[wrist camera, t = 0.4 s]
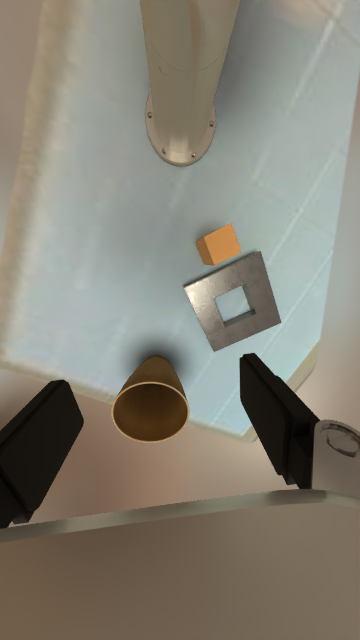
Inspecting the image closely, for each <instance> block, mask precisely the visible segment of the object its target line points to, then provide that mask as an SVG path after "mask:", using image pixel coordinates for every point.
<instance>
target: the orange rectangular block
mask: <svg viewBox="0 0 360 640" xmlns="http://www.w3.org/2000/svg"><path fill="white" fill-rule="evenodd" d="M196 245H197V248H198V250H199V253H200V255H201V258H202V260H203V263H204V264H206V265H216V264H218V263H220V262H222V261H224V260H226V259H228V258H230V257H232V256H234V255H237V254H239V253H241V251H240V248H239V245H238V242H237V238H236V235H235V232H234V229H233V226H232V223H230V224H228V225H226V226H224V227H222V228H220V229H218V230H216V231H214V232H213V233H211V234H209V235H207V236H205V237H203V238H202V239H200V240H199V241H198V242H196Z"/></svg>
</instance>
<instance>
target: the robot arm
mask: <svg viewBox="0 0 360 640" xmlns="http://www.w3.org/2000/svg"><path fill="white" fill-rule="evenodd" d="M239 3H240V0H140V5H141V13H142V20H143V28H144V37H145V45H146V54H147V62H148V71H149V79H150V88H151V92H150V94H149V97H148V100H147V104H146V112H145V118H146V128H147V132H148V136H149V139H150V142H151V144H152V146H153V148H154V149H155V151H156V152H157V154H158V155H159V156H160V157H161V158H162V159H164V160H165V161H166V162H168V163H170V164H172V165H176V166H186V165H190V164H192V163H194V162H196V161H198V160H199V159H200V158H201V157H202V156H203V155H204V154H205V153H206V151H207V150H208V148H209V146H210V144H211V141H212V139H213V135H214V132H215V126H216V111H215V105H214V99H215V95H216V91H217V87H218V84H219V80H220V76H221V72H222V69H223V65H224V61H225V57H226V54H227V50H228V46H229V42H230V39H231V35H232V31H233V27H234V24H235V20H236V16H237V12H238V8H239ZM210 126H211V127H210ZM163 153H165V154H163ZM192 157H194V158H192ZM240 399H241V402H242V405H243V407H244V409H245V411H246V413H247V415H248V417H249V419H250V421H251V423H252V425H253V427H254V429H255V431H256V433H257V435H258V437H259V439H260V441H261V443H262V445H263V447H264V449H265V451H266V452H267V455H268V457H269V459H270V461H271V463H272V465H273V467H274V469H275V471H276V472H277V474H278V475H282V476H283V478H284V480H285V482H286V484H287V485H291V484H297V486H298V487H299V489H294V490H277V491H269V492H260V493H251V494H243V495H234V496H226V497H220V498H211V499H204V500H197V501H190V502H182V503H175V504H168V505H160V506H153V507H147V508H139V509H132V510H125V511H118V512H112V513H104V514H98V515H90V516H84V517H77V518H70V519H63V520H56V521H50V522H43V523H36V524H30V525H23V526H16V527H10V528H7V527H8V526H9V524H10V523H11V521H12V522H13V523H14V524H20V523H27V522H29V520H30V518H31V517H32V515H33V513H34V511H35V510H36V509H37V508H39V506H40V505H41V503H42V501H43V499H44V497H45V496H46V494H47V492H48V490H49V488H50V486H51V484H52V482H53V481H54V479H55V477H56V475H57V473H58V471H59V470H60V468H61V466H62V464H63V462H64V460H65V458H66V456H67V455H68V453H69V451H70V449H71V447H72V445H73V444H74V442H75V440H76V438H77V436H78V434H79V432H80V430H81V428H82V427H83V423H84V419H83V417H82V414H81V412H80V409H79V407H78V405H77V402H76V400H75V397H74V395H73V392H72V390H71V387H70V385H69V383H68V382H66V381H65V380H55V381H51V382H49V383H48V384H47V385H46V386H45V387H44V388H43V389H42V390H41V391H40V392H39V393H38V394H37V395H36V396H35V397H34V398H33V399H32V400H31V401H30V402H29V403H28V404H27V405H26V406H25V407H24V408H23V409H22V410H21V411H20V412H19V413H18V414H17V415H16V416H15V417H14V418H13V419H12V420H11V421H10V422H9V423H8V424H7V425H6V426H5V427H4V428H3V429H2V430H1V431H0V640H360V432H359V431H357V430H355V429H354V428H352V427H351V426H349V425H346V424H344V423H342V422H338V421H334V420H322V421H320V420H319V419H318V417H317V416H315V415H314V414H313V412H312V411H311V410H310V409H309V408H308V407H307V406H306V405H305V404H304V403H303V402H302V400H300V398H299V397H298V396H297V395H296V394H295V393H294V392H293V391H292V390H291V389H290V388H289V387H288V386H287V385H286V384H285V382H284V381H283V380H282V379H281V378H280V377H278V376H275V375H274V374H273V372H272V371H271V370H270V369H269V368H268V367H267V366H266V365H265V364H264V363H263V362H262V361H261V359H260V358H259V357H258V356H257V355H256V354H255V353H250V354H243V357H241V358H240Z"/></svg>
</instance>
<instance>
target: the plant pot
mask: <svg viewBox="0 0 360 640" xmlns="http://www.w3.org/2000/svg"><path fill="white" fill-rule="evenodd" d="M111 415H112V420H113V422H114V424H115V426H116V427H117V429H118V430H119V431H120V432H121V433H122V434H123V435H125V436H126V437H128V438H130V439H132V440H135V441H139V442H145V443H154V442H161V441H164V440H168V439H170V438H172V437H174V436H175V435H177V434H178V433H179V432H180V431H181V430H182V429H183V428H184V427H185V425H186V424H187V421H188V418H189V405H188V402H187V399H186V396H185V393H184V390H183V387H182V385H181V382H180V380H179V378H178V376H177V374H176V372H175V371H174V369H173V368H172V366H171V365H170V363H169V362H168V361H167V360H166V359H165V358H163V357H159V356H154V357H150V358H149V359H147V360H146V361H145V362H143V363H142V364H141V365H140V366H139V367H138V368H137V369H136V370H135V371H134V372H133V374H132V375H131V376H130V377H129V379H128V380H127V382H126V383H125V384H124V386H123V388H122V389H121V391H120V392H119V394H118V395H117V397H116V399H115V400H114V403H113V405H112V410H111Z"/></svg>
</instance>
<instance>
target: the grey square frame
mask: <svg viewBox="0 0 360 640" xmlns="http://www.w3.org/2000/svg"><path fill="white" fill-rule="evenodd" d="M241 285H242V287H243V289H244V292H245V295H246V298H247V301H248V304H249V307H250V310H251V311H248V312H246V313H244V314H242V315H239V316H237V317H235V318H233V319H231V320H228V321H226V322H224V323H223V321H222V319H221V316H220V314H219V311H218V309H217V306H216V304H215V302H214V299H213V298H215V297H218V296H220V295H222V294H224V293H226V292H228V291H230V290H233V289H235V288H237V287H239V286H241ZM183 287H184V289H185V291H186V293H187V295H188V297H189V300H190V302H191V304H192V306H193V308H194V310H195V313H196V315H197V317H198V319H199V321H200V323H201V325H202V328H203V330H204V332H205V334H206V336H207V338H208V341H209V343H210V345H211V347H212V349H213V351H214V352H215V351H217V350H220V349H222V348H224V347H227V346H229V345H231V344H234V343H236V342H238V341H240V340H243V339H245V338H247V337H250V336H252V335H254V334H256V333H259V332H261V331H263V330H266V329H268V328H270V327H273V326H275V325H277V324H279V323H281V320H280V316H279V313H278V309H277V306H276V303H275V299H274V296H273V292H272V289H271V285H270V282H269V278H268V275H267V271H266V268H265V264H264V261H263V258H262V254H261V251H260V252H254V253H252V254H250V255H247V256H245V257H243V258H241V259H239V260H237V261H235V262H233V263H231V264H229V265H227V266H225V267H223V268H221V269H219V270H216V271H214V272H212V273H210V274H208V275H206V276H204V277H202V278H200V279H198V280H196V281H194V282H192V283H190V284H188V285H185V286H183Z"/></svg>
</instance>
